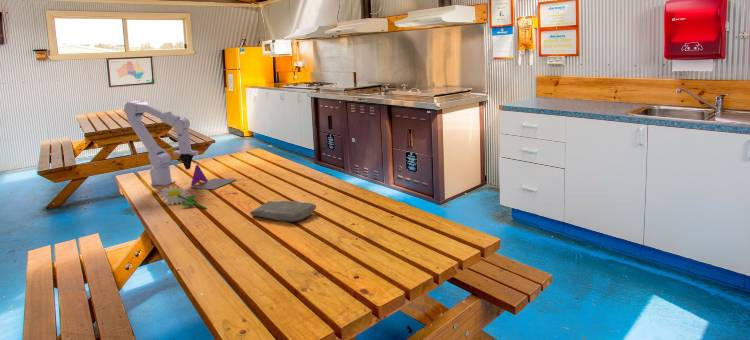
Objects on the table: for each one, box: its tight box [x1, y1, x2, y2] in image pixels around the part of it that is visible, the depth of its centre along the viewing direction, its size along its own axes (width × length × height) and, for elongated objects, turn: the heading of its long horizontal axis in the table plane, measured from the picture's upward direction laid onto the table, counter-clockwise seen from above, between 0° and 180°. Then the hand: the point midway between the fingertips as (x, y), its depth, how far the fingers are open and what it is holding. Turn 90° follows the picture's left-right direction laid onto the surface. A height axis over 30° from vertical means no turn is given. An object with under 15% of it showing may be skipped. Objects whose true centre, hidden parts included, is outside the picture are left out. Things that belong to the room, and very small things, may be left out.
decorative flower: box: [158, 185, 208, 210], centre depth 228 cm, size 13×5×30 cm
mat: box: [190, 178, 238, 191], centre depth 260 cm, size 14×18×1 cm
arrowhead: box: [190, 164, 209, 187], centre depth 263 cm, size 10×2×10 cm
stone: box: [249, 200, 317, 223], centre depth 204 cm, size 26×4×15 cm
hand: (188, 168), depth 264 cm, fingers closed
